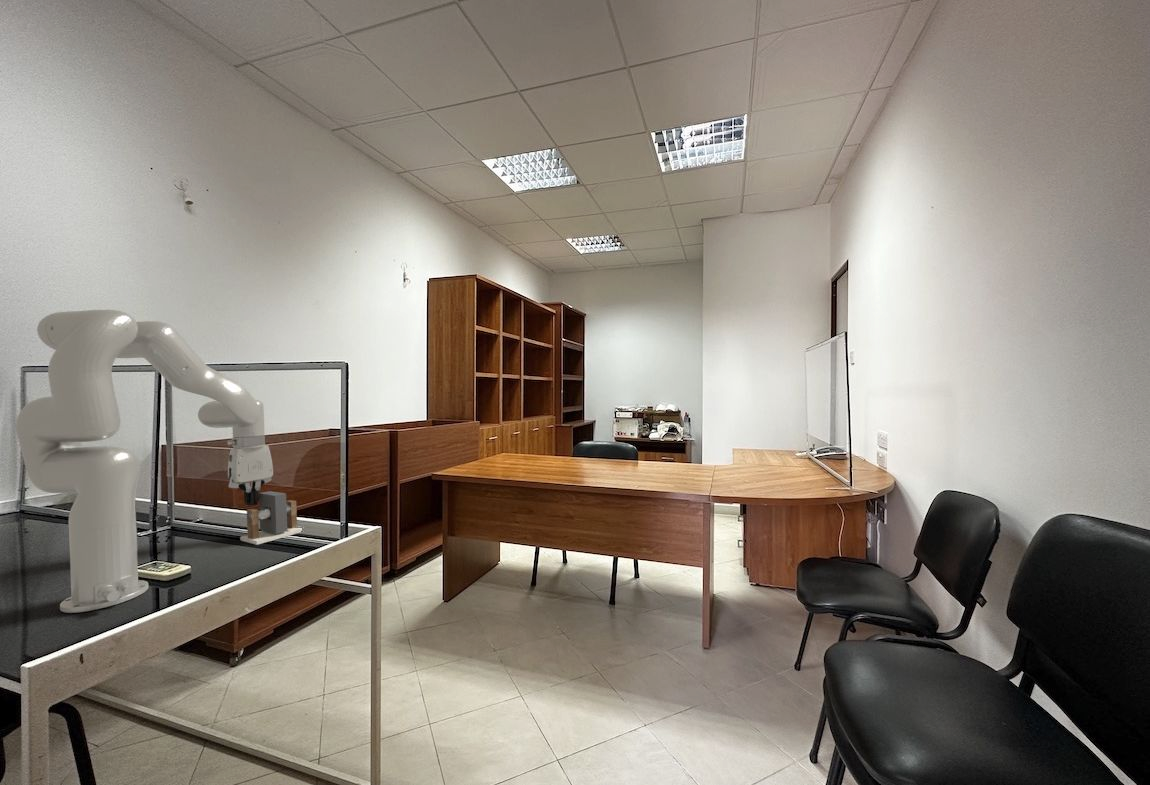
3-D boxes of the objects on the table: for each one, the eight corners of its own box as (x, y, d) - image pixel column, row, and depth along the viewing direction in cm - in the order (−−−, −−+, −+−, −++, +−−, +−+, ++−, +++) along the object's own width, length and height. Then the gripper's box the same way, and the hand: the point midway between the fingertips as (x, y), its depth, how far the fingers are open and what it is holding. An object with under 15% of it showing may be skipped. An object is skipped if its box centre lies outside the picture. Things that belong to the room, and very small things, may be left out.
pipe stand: (304, 531, 134) (303, 501, 134) (256, 544, 123) (255, 512, 123) (288, 527, 139) (287, 498, 139) (240, 540, 127) (239, 509, 127)
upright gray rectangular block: (287, 530, 130) (286, 493, 130) (276, 533, 128) (275, 495, 127) (271, 527, 135) (269, 491, 134) (260, 529, 132) (258, 493, 132)
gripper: (225, 446, 121) (228, 512, 121) (283, 439, 134) (285, 499, 134) (212, 445, 125) (215, 509, 125) (270, 439, 138) (272, 497, 138)
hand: (251, 504), depth 130 cm, fingers closed
